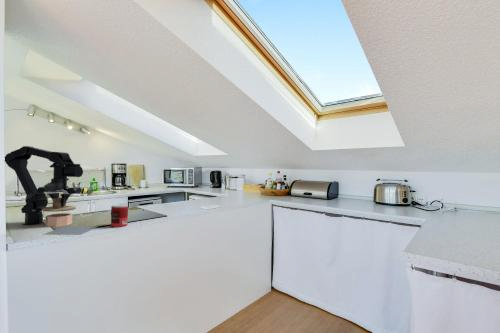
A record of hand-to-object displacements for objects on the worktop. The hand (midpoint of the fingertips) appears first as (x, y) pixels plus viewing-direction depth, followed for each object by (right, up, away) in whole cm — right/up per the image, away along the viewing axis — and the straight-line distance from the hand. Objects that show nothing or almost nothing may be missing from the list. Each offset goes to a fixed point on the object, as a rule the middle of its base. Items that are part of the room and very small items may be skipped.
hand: (59, 206), depth 133 cm
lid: (0, -1, 0) cm, 1 cm away
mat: (+15, -10, -11) cm, 21 cm away
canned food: (+31, -10, 0) cm, 33 cm away
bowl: (0, -9, 0) cm, 9 cm away
